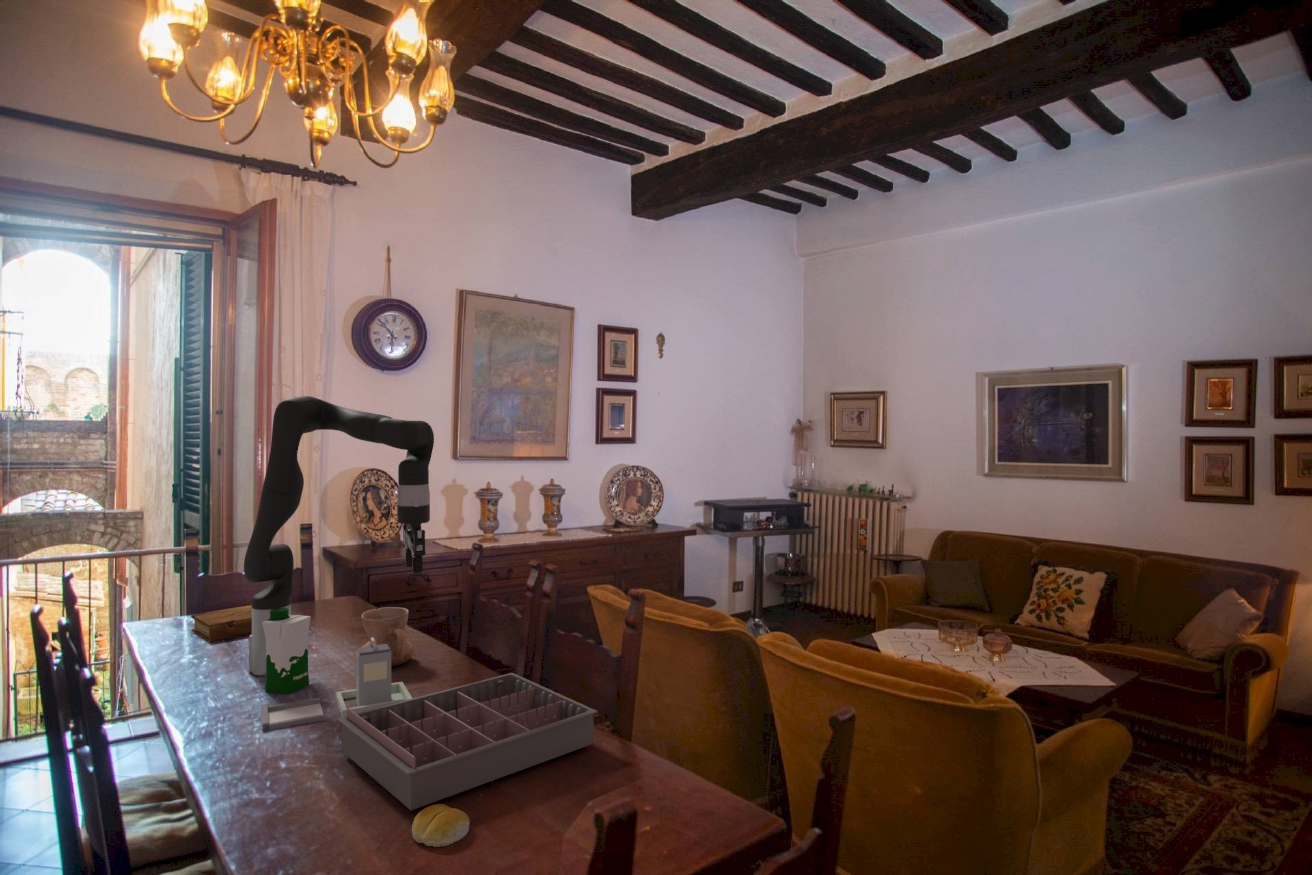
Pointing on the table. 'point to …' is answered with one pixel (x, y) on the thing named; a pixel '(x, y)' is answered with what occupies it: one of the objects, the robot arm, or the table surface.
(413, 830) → the bread roll
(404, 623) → the ceramic jug
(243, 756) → the table surface
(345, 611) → the table surface
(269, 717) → the bay
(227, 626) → the diary
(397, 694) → the tray
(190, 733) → the table surface
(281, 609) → the milk carton
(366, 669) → the labeled grey carton
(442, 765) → the organizer tray
